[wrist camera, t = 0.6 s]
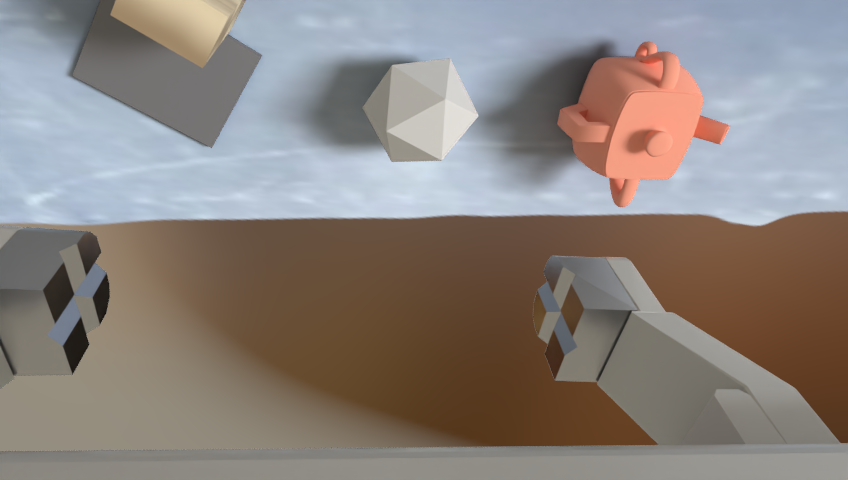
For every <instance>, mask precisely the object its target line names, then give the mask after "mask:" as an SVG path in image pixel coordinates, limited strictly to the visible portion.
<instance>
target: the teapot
mask: <svg viewBox="0 0 848 480" xmlns="http://www.w3.org/2000/svg"><path fill="white" fill-rule="evenodd" d="M656 52H657V47H656V45H655V44H654V43H652V42H644V43H642V44H641V45H640V46H639V48H638V49H637V51H636V54H635V57H605V58H601V59H598V60H597V61H596V62H595V63H594V64H593V66H592V68H591V69H590V71H589V73H588V76H587V79H586V81H585V84H584V86H583V89H582V92H581V94H580V97H579V101H578V104H575V105H572V106H568V107H564V108H561V109H560V113H559V118H558V123H557V125H558V126H559V127H560V128H561V129H562V130H563V131H564V132H565V133H566V134H567V135H569V136H570V137H571V138H572V144H573V150H574V153H575V155H576V156H577V157H578V159H579V160H580V161H581V162H582V163H584V164H585V165H586V166H587V167H588V168H590V169H591V170H593V171H595V172H597V173H599V174H600V175H603V176H605V177H608V178H609V180H610V189H611V194H612V198H613V201H614V203H615V204H616V205H617V206H618V207H625V206H627V205H628V204H630V202H631V201H632V199H633V197H634V195H635V192H636V190H637V187H638V184H639V181H640V180H663V179H669V178H670V177H672V176H673V175H674V173H675V172H676V170H677V169H678V167H679V165H680V163H681V162H682V160H683V158H684V156H685V154H686V152H687V149H688V147H689V145H690V143H691V140H692V138H693V137H696V138H700V139H703V140H706V141H710V142H713V143H717V144H721V143H722V141H723V140H724V138H725V136H726V134H727V132H728V130H729V127H730V125H727V124H724V123H721V122H718V121H715V120H712V119H709V118H706V117H703V116H700V113H701V110H702V105H703V96H702V93H701V91H700V89H699V87H698V85H697V84H696V82H695V80H694V79H693V77H692V76H691V75H690V74H689V73H688V71H687V70H686V69H684V68H683V67H682V66H681V65H680V64H679V60H678V58H677V56H676V55H675V54H673V53H671V52H657V53H656ZM624 179H625V180H624Z"/></svg>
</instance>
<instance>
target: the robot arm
mask: <svg viewBox="0 0 848 480" xmlns="http://www.w3.org/2000/svg"><path fill="white" fill-rule="evenodd" d="M100 254H101V249H100V246H99V243H98V240H97V237H96V236H95V235H94V234H93V233H91V232H88V231H74V230H58V229H44V228H31V227H26V228H24V227H12V226H0V389H1V388H2V387H4V386H5V385H6V384H8V383H9V382H10V381H12V380H13V379H14V376H26V375H28V376H30V375H73V373H74V371H75V370H76V368H77V366H78V364H79V362H80V360H81V359H82V357H83V355H84V353H85V352H86V350H87V348H88V346H89V342H88V338H87V335H86V334H87V333H88V332H90V331H91V330H93V329H95V328H96V327H98V326H100V324H101V322H102V320H103V318H104V316H105V315H106V312H107V308H108V303H109V298H110V289H109V281H108V276H107V273H106V272H105V271H104V270H103V269H102V268H101V267H99V266H98V265H97V264H96V263H95V262H96V260H97V258H98V257H99V255H100ZM544 275H545V277H546V279H547V283H545V284H544V285H543V286H542V287H541V288H539V289H538V290H537V293H536V297H535V300H534V305H533V320H534V326H535V329H536V332H537V335H538V337H539V338H541V339H542V340H543V341H544V342H546V343H547V344H548V346H547V349H546V351H545V356H546V359H547V361H548V364H549V366H550V369H551V372H552V374H553V377H554V379H555V380H557V381H583V382H598V383H597V384H598V386H599V387H601V389H602V390H604V392H606V394H608V395H609V396H610V397H611V398H612V399H613V400H614V401H615V402H616V403H617V404H618V405H619V406H620V407H621V408H622V409H623V410H624V411H625V412H626V413H627V414H628V415H629V416H630V417H631V418H632V419H633V420H634V421H635V422H636V423H637V424H638V425H639V426H640V427H641V428H642V429H643V430H644V431H645V432H646V433H647V434H648V435H649V436H650V437H651V438H652V439H654V440H655V441H656V442H657V443H658V444H659V445H630V446H629V445H625V446H529V447H528V446H524V447H410V448H408V447H407V448H406V447H403V448H302V449H201V450H200V449H199V450H96V451H95V450H94V451H0V480H848V443H839V441H838V440H837V439H836V437H835V436H834V435H833V434H832V433H831V431H830V430H829V429H828V428H827V427H826V425H825V424H824V423H823V422H822V420H821V419H820V418H819V417H818V416H817V414H816V413H815V412H814V411H813V409H812V408H811V407H810V406H809V405H808V403H807V402H806V401H805V400H804V398H803V397H802V396H801V395H800V394H799V392H798V391H797V390H796V389H795V388H794V387H792V386H790V385H789V384H787V383H786V382H784V381H782V380H781V379H779V378H778V377H776V376H774V375H773V374H771V373H770V372H768V371H766V370H765V369H763V368H761V367H760V366H758V365H757V364H755V363H753V362H752V361H750V360H749V359H747V358H745V357H744V356H742V355H741V354H739V353H737V352H736V351H734V350H733V349H730V348H729V347H728V346H726V345H725V344H723V343H721V342H720V341H718V340H716V339H715V338H713V337H711V336H710V335H708V334H707V333H705V332H704V331H702V330H700V329H699V328H697V327H696V326H694V325H692V324H691V323H689V322H687V321H686V320H684V319H683V318H681V317H679V316H678V315H676V314H674V313H669V312H665V310H664V309H663V308H662V306H661V305H660V303H659V302H658V300H657V299H656V297H655V296H654V295H653V293H652V292H651V290H650V288H649V287H648V286H647V284H646V283H645V281H644V280H643V278H642V277H641V275H640V274H639V272H638V271H637V269H636V268H635V267H634V265H633V264H632V262H631V261H630V260H628V259H627V258H625V257H600V258H594V257H571V256H568V257H567V256H551V257H550V259H549V260H548V261H547V264H546V266H545V269H544Z"/></svg>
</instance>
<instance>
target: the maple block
mask: <svg viewBox="0 0 848 480" xmlns="http://www.w3.org/2000/svg"><path fill="white" fill-rule="evenodd" d="M245 1H246V0H116V1H115V4H114V6H113V9H112V11H111V14H110V15H111V16H113V17H114V18H116V19H118V20H120V21H121V22H123V23H125V24H127V25H128V26H130V27H132V28H134V29H135V30H137V31H139V32H141V33H142V34H144V35H146V36H148V37H149V38H151V39H153V40H154V41H156V42H158V43H160V44H161V45H163V46H165V47H167V48H168V49H170V50H172V51H174V52H175V53H177V54H179V55H181V56H182V57H184V58H186V59H187V60H189V61H191V62H193V63H194V64H196V65H198V66H200V67H201V68H203V67H204V66H205V64H206V63H207V62H208V60H209V59H210V58H211V56H212V55H213V53H214V52H215V51H216V49H217V48H218V47H219V45H220V44H221V43H222V41H223V40H224V38H225V37H226V36H227V34H228V33H229V32H230V30H231V29H232V27H233V25H234V23H235V21H236V19H237V17H238V15H239V13H240V11H241V9H242V7H243V5H244V3H245Z"/></svg>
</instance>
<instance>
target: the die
mask: <svg viewBox="0 0 848 480" xmlns="http://www.w3.org/2000/svg"><path fill="white" fill-rule="evenodd" d="M362 108H363V110H364V112H365V114H366V115H367V117H368V119H369V121H370V123H371V125H372V126H373V128H374V130H375V132H376V134H377V136H378V138H379V139H380V141H381V143H382V145H383V147H384V149H385V150H386V152H387V154H388V156H389V158H390V160H391V161H392V162H404V161H442V160H443V158H444V157H445V156H446V155H447V153H448V152H449V151H450V150H451V149H452V147H453V146H454V145H455V144H456V143H457V141H458V140H459V139H460V138H461V137H462V135H463V134H464V133H465V132H466V131H467V129H468V128H469V127H470V126H471V124H472V123H473V122H474V121H475V120H476V118H477V117H478V114H477V112H476V110H475V108H474V105H473V103H472V101H471V99H470V97H469V95H468V93H467V91H466V89H465V87H464V85H463V83H462V81H461V79H460V77H459V75H458V73H457V71H456V69H455V67H454V65H453V63H452V61H451V59H450V58H449V59H440V60H431V61H422V62H414V63H405V64H396V65H392V66H391V67H390V69H389V70H388V71H387V73H386V74H385V76H384V77H383V79H382V80H381V81H380V83H379V84H378V86H377V87H376V89H375V90H374V91H373V93H372V94H371V96H370V97H369V99H368V100H367V101H366V103H365V104H364V106H363V107H362Z"/></svg>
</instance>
